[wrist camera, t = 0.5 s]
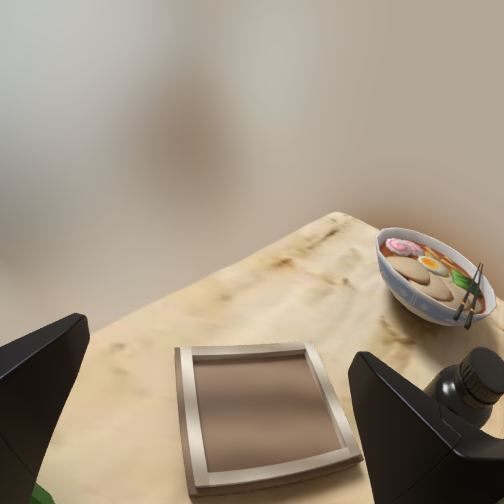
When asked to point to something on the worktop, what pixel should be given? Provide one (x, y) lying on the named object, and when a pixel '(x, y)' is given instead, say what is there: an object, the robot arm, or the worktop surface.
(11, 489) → the robot arm
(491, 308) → the ramen bowl
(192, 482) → the beige square tray
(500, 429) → the worktop surface
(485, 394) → the supplement bottle
